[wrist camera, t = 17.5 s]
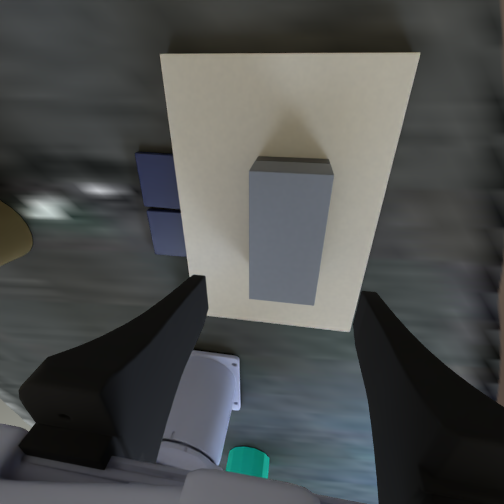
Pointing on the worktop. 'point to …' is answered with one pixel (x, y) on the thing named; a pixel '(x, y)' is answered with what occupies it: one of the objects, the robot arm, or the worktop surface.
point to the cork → (13, 235)
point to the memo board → (283, 145)
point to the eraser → (287, 227)
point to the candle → (248, 462)
